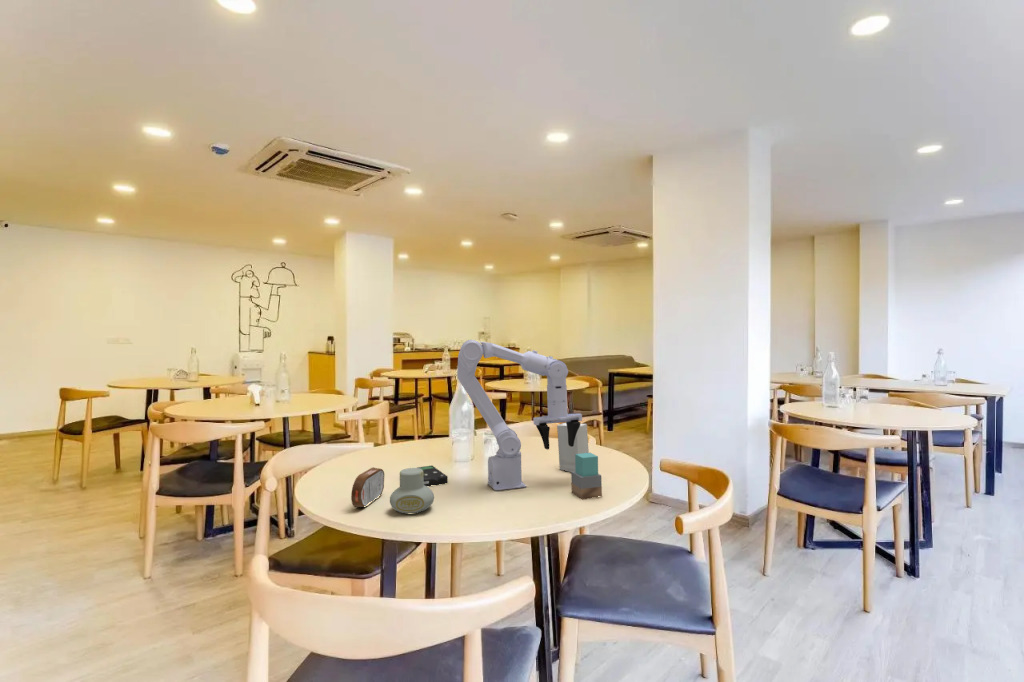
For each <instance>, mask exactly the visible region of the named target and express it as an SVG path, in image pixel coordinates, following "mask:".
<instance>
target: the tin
mask: <svg viewBox="0 0 1024 682" xmlns="http://www.w3.org/2000/svg"><path fill="white" fill-rule="evenodd" d="M384 488H385V471H384V469H382V468H379V467H370V468H369V469H367V470H365V471H364V472H362V473H360V474H358V476H356V477H355V480H354V482H353V483H352V489H351V495H350V497H351V498H350V499H351V500H350V501H351V504H352V506H353V507H354V508H356V507H357V508H359V507H364V506H366V505H367V504H368V503H369V502H371V501H373V500H374V499H375V498H377V497H378V496H379V495H381V496H382V494H383V492H384Z"/></svg>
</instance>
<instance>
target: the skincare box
mask: <svg viewBox="0 0 1024 682" xmlns="http://www.w3.org/2000/svg"><path fill="white" fill-rule="evenodd" d="M556 429H557V444H558V462H559V471H564V470H565V472H570V473H571V472H575V471H576V470H575V454H581V453H590V451H589V437H588V436H589V435H588V424H587V423H580V427H579V429H578V431H577V433H576V437H575V440H574V446H573V447H571V446H569V445H568V430H567V424H566V422H562V423H559V424H557V426H556Z"/></svg>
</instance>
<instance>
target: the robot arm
mask: <svg viewBox="0 0 1024 682" xmlns="http://www.w3.org/2000/svg"><path fill="white" fill-rule="evenodd" d="M482 357H483V358H484V359H488V358H492V357H494V358H495V357H496V358H499V359H502V360H506V361H509V362H513V363H516V364H519V365H520V366H521V369H522V370H524V371H526V372H529V373H533V374H535V375H539V376H543V377H544V376H546V379H547V380H546V382H547V383H546V392H547V393H546V395H547V398H546V400H547V401H546V402H547V415H542V416H536V417H533V425H535V426H536V428H537V431H538V432H539V434H540V437H541V440H542V443H543V447H544V449H545V450H547V451H548V450H550V430H551V428H550V426H548V425H549V424H558V423H559V424H561V423H566V424H567V430H568V445H569V446H571V447H573V446H574V440H575V437H576V433H577V431H578V429H579V427H580V424H581V421H583V414H582V413H578V412H577V413H569V412H568V388H567V377H568V374H569V369H568V366H567V365H566V363H565V362H564V361H563V360H559V359H556V358H554V357H553V356H551V355H549V356H546V355H543V354H540V353H538V351H537V350H534V349H533V350H532V351H531V350H528V351H525V352H519V351H516V350H512V349H510V348H507V347H505V346H502V345H499V344H496V343H493V342H488V341H481V340H480V341H477V340H476V339H468V340H466V341H464V342H463V343H462V344H461V347H460V349H459V352H458V355H457V374H456V375H457V379H458V381H459V383H460V384H461V386H462V387H463V388H464V391H466V394H467V395H468V397H469V398H470V400H471V402H472V403H473V404H474V406H475V407H476V409H477V410H478V412H479V413H480V415H481V416H482V418H483V419H484V420H483V421H484V422H485V423H486V424H487V426H488V427H489V429H490V430H491V432H492V434H493V436H494V437H495V439H496V444H497V446H498V450H497V451H496V452H495V455H493V456H492V455H491V456H489V457H488V460H487V476H488V477H487V484H488V485H489V486H490V487H491V488H492V489H493V490H494V491H504V490H513V489H520V488H527V484H525V483H524V481H523V480H522V451H520V450H521V449H522V448H521V447H522V442H521V440H520V438H519V437H518V433H516V431H515V430H513V429H512V428H510V427H509V426H508V424H507V423H506V422H505V420H504V419H503V417H502V416H501V414H500V413H499V411H498V409H497V408H496V406H495V405H494V403H493V402H492V400H491V398H490V396H489V395H488V394H487V393H486V390H485V389H484V388H483V387H482V385H481V383H480V381H479V380H478V378H477V377H476V375H475V374H476V370H477V367H478V366H477V365H478V364H479V362H480V361H481V360H482Z"/></svg>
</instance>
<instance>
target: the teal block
mask: <svg viewBox="0 0 1024 682" xmlns="http://www.w3.org/2000/svg"><path fill="white" fill-rule="evenodd" d="M575 470H576V473H577V474H579V475H581V476H582V477H586V476H594V475H598V474H599V456H598V455H596V454H594V453H592V452H589V453H581V454H575Z"/></svg>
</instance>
